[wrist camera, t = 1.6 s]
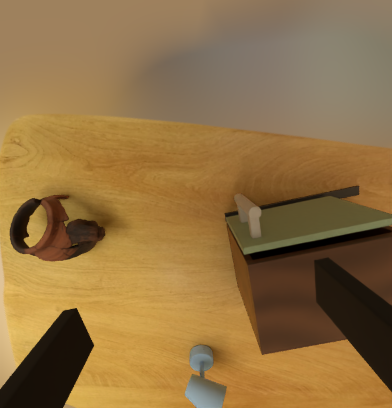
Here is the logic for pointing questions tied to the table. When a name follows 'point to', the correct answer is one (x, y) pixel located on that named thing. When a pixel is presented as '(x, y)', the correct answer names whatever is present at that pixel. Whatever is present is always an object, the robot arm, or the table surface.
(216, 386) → the spotlight
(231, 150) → the table surface
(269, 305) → the cupboard
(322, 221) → the sliding door
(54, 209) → the broken clay pot
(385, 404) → the table surface
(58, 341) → the robot arm
